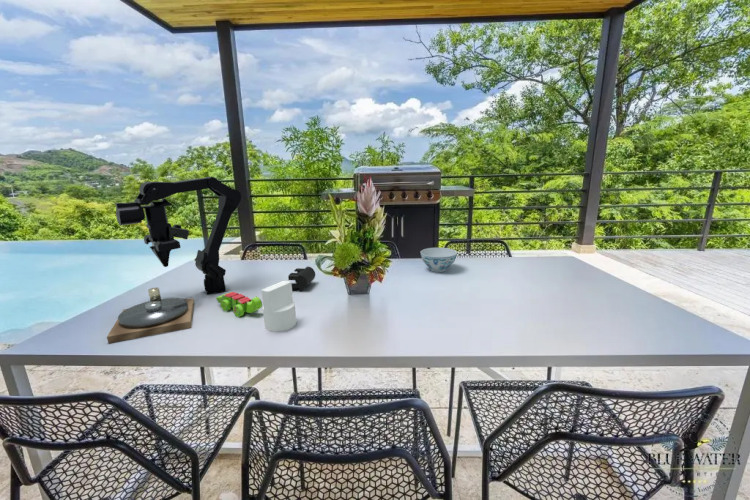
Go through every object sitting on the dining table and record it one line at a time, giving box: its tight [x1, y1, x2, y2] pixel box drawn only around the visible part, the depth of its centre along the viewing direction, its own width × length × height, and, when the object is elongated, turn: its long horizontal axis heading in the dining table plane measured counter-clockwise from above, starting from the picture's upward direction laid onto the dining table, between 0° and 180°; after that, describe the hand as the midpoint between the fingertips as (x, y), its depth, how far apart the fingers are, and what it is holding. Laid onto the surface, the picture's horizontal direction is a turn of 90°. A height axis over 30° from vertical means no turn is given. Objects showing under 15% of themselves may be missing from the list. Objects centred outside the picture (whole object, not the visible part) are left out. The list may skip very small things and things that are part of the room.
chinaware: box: [420, 247, 458, 273], centre depth 147 cm, size 15×15×8 cm
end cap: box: [287, 266, 316, 292], centre depth 132 cm, size 10×7×7 cm
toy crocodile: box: [215, 291, 263, 318], centre depth 113 cm, size 20×7×6 cm, turn 53°
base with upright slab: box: [261, 280, 297, 333], centre depth 101 cm, size 9×9×12 cm
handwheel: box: [117, 287, 188, 328], centre depth 106 cm, size 18×18×6 cm
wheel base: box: [106, 297, 195, 345], centre depth 107 cm, size 20×20×2 cm
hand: (166, 266), depth 118 cm, fingers closed
